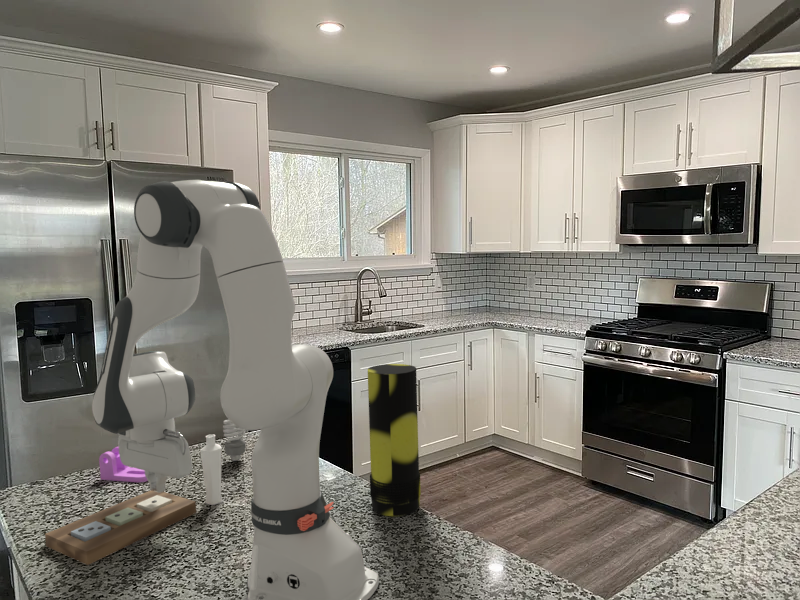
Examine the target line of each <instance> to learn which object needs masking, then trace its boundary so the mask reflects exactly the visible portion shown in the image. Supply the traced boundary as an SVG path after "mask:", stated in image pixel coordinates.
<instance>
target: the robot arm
mask: <svg viewBox="0 0 800 600" xmlns="http://www.w3.org/2000/svg"><path fill="white" fill-rule="evenodd" d="M133 217H134V221H135V224H136V228H137V229H138V231H139V233H140V237H139V241H138V246H137V247H138V248H137V255H136V256H137V258H136V273H135V274H136V275H135V278H134V282H133V285H132V286H131V288H130V290H129V292H128V293H127V295H126V296H125V297H124V298H122V299H120V300H119V301H117V304H116V306H115V308H114V311H113V314H112V318H111V321H110V326H109V330H108V334H107V340H106V344H105V345H106V346H105V348H104V349H105V351H104V355H103V360H102V364H101V370H100V375H99V379H98V381H97V384H96V387H95V390H94V393H93V397H92V405H91V407H92V415H93V419H94V421H95V423H96V425H97V426H99V427H100V428H102V429H104V430H105V431H107V432H109V433H113V434H116V435H118V438H117V445H118V447H119V455H120V460H121V462H122V463H123V465H126V466H129V467H131V468H137V469H141V470H145V476H146V478H147V480H148V481H147V482H148V484H149V491H151V490H152V491H155V492H159V493H161V492H166V482H167V480H168V477H169V478H173V479H177V480H179V479H182V478H184V477H186V476H188V475H191V473H192V471H193V462H192V461H193V460H192V455H191V454H192V453H191V450H190V446H189V443H188V441H187V440H186V437H184V436H183V434H182V433H181V432H179V431H176V423H175V419H176V418H180V417H183V416H184V415H187V414H188V413H189V412H190V411H191V410H192V408H193V406H194V404H195V401H196V389H195V382H194V380H193V377H191V376H190V375H189V374H187V373H186V372H184V371H183V370H180V369H179V370H178V369H177V368H175V367H174V366H172V365H171V364H170V362H169V359H168V355H167V353H166V352H165V351H164V350H163V351H162V350H150V351H143V352H139V353H138V352H137V353H135V348H136V345H137V343H138V342H139V341H140V339H141V338H142V337H143V336H144V335H145V334H147V333H148V332H150V331H151V330H153V329H155V328H156V327H159V326H161V325H162V324H164V323H167V322H169V321H171V320H173V319H175V318H177V317H179V316H181V315H183V314H184V313H185V312H187V311H188V310H189V309H190V308H191V307H192V306H193V304H194V303H195V301H197V298H198V294H199V290H200V286H201V285H200V281H201V261H202V260H201V255H202V254H201V253H202V249H203V247H204V248H205V249H206V250H207V251H208V253H209V254H210V257H211V261H212V265H213V269H214V273H215V276H216V281H217V284H218V288H219V291H220V295H221V299H222V302H223V307H224V311H225V315H226V318H227V325H228V335H229V337H228V338H229V354H228V357H229V358H228V369H227V373H226V376H225V378H224V381H223V382H222V385H221V388H220V391H219V392H220V393H219V397H220V398H219V399H220V405H221V409H222V411H223V413H224V414H225V416H226V418H227V420H230V421H231V422H232V423H231V424H234V425H236V426H237V427H236V428H238V427H239V428H241V429H244V430H245V431H256V430H257V431H258V430H259V435H258V438H257V441H256V442H255V445H254V447H253V450H252V453H251V458H250V459H251V474H252V475H251V478H252V479H251V480H252V495H253V497H252V498H251V501H250V505H251V506H250V517H251V523H252V526H253V539H252V540H253V541H252V549H251V562H250V569H249V574H248V577H247V587H248V593H247V600H369V599H370V598H371V597H372V596H373V594H374V593H376V591H377V589H378V587H379V584H380V578H379V577H380V576H379V573H378V572H376V571H375V570H372V569H370V568H368V567H366V566H365V562H364V556H363V552H362V549H361V547H360V545H359V544H358V543H357V542H356V541H355V540H353V538H352V536H351V534H349V533H348V532H345V531H344V529H343V528H342V527H341V526H339V524H338V523H337V522H335V521H334V519H333V518H331V516H330V514H331V513H330V512H331V510H333V509H334V507H335V506H333V505H334V501H331V502H329V503H327V502H326V499H325V496H324V494H323V492H322V490H321V485H320V484H321V483H320V481H321V480H320V442H321V441H320V440H321V434H322V427H323V422H324V415H325V414H324V413H325V407H326V401H327V396H328V392H329V388H330V386H331V384H332V381H333V378H334V367H333V363H332V361H331V359H330V357H329V355H328V354H327V353H326V352H325V351H324V350H323V349H321V348H320V347H318V346H315V345H311V344H292V325H293V323H292V322H293V318H294V315H295V312H296V303H295V299H294V296H293V293H292V289H291V288H292V287H291V285H290V282H289V277H288V274H287V270H286V267H285V263H284V259H283V257H282V253H281V251H280V247H279V245H278V242H277V239H276V237H275V233H274V231H273V230H272V227H271V225H270V222H269V221H268V219H267V217H266V215H265V214H264V212H263V210H261V206H260V201H259V198H258V197H257V195H256V193H255V192H254V190H252V189H251V188H250V187H249V186H247V185H244V184H241V183H239V182H233V181H225V182H223V181H215V180H214V181H212V180H203V179H202V180H201V179H188V180H187V179H186V180H176V181H168V180H163V181H158V182H154V183H151V184H148V185H146V186H144V187H143V188H141V189H140V191H139V192H138V194H137V196H136V198H135V201H134V207H133Z"/></svg>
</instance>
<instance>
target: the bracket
mask: <svg viewBox="0 0 800 600" xmlns="http://www.w3.org/2000/svg"><path fill="white" fill-rule="evenodd" d="M98 463H99V464H98V465H99V473H100V474H99V475H100V480H103V481H117V482H127V483H129V482H131V483H146V482H148V480H147V478H146V476H145V470H141V469H137V468H134V467H130V466H126V465H123V463H122V462H121V460H120V455H119V447H118V446H115V447H114V448H112V450H111V451H110V450H109V451H105V452H103V453H101V454H100V455H99V458H98Z"/></svg>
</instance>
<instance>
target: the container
mask: <svg viewBox="0 0 800 600" xmlns="http://www.w3.org/2000/svg"><path fill="white" fill-rule="evenodd" d="M417 380H418V378H417V367H416V366H414V365H411V364H406V363H405V364H404V363H403V364H402V363H387V364H386V363H385V364H378V365H373V366H370V367H368V368H367V389H368V390H367V393H368V422H369V423H368V424H369V426H368V429H369V451H370V456H369V458H370V474H369V491H370V494H369V495H370V498H371V507H372V509H373V511H374V512H376V513H377V514H379V515H382V516H385V517H405V516H407V515H411V514H413V513H414V512H416V511H417V510H419V508H420V506H421V505H420V504H421V501H420V500H421V496H422V495H421V494H422V493H421V492H422V491H421V489H422V488H421V474H420V473H421V472H420V463H419V462H420V461H419V460H420V458H419V425H418V424H419V423H418V422H419V421H418V420H419V418H418V386H417V385H418V384H417V382H418V381H417Z"/></svg>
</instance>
